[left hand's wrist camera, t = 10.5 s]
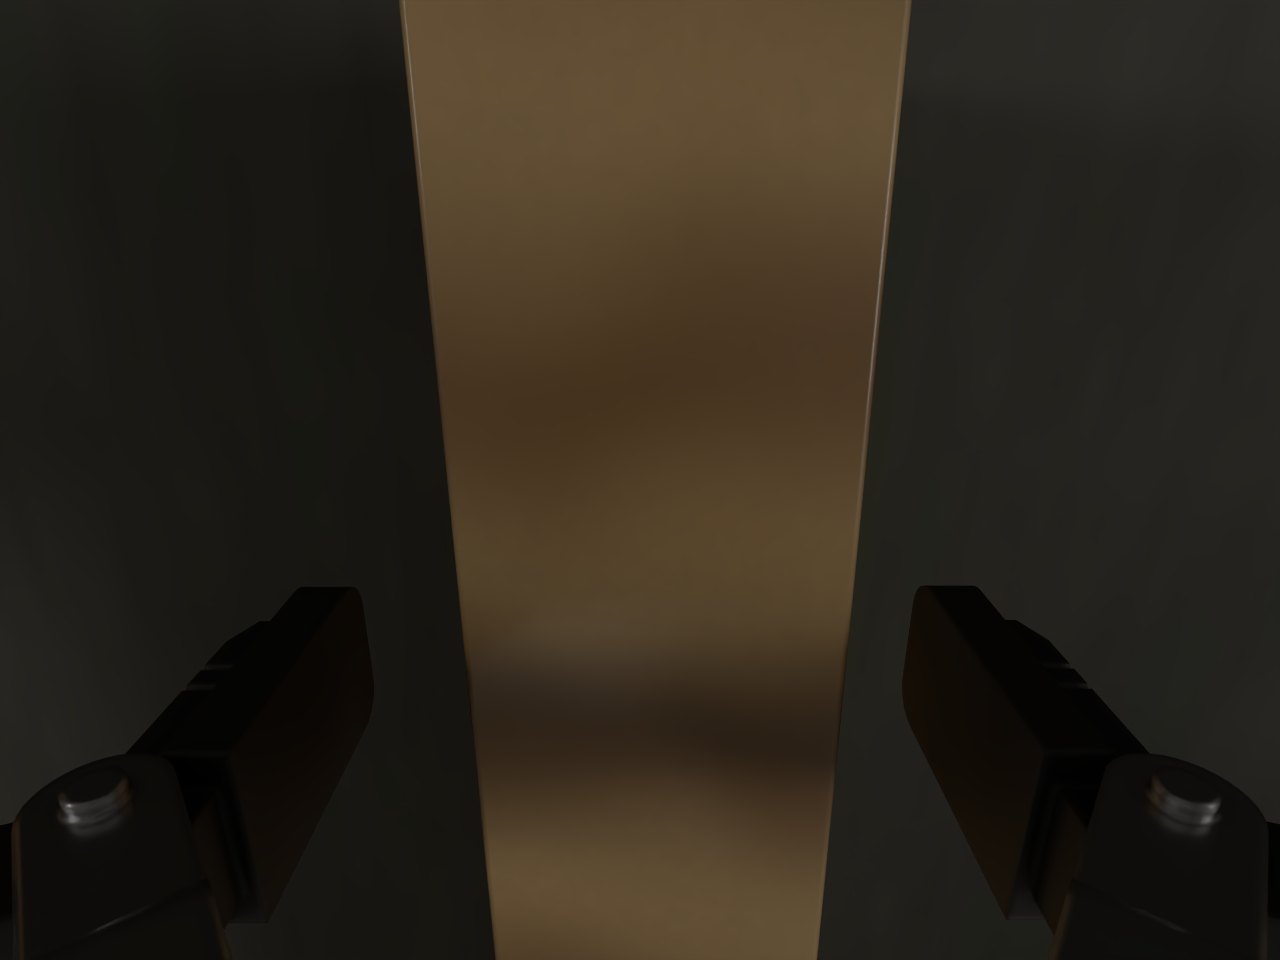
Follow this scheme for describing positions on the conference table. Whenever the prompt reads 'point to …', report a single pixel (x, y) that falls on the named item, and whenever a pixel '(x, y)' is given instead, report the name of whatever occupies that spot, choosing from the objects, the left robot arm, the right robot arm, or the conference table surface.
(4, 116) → the conference table surface
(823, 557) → the post
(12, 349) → the conference table surface
